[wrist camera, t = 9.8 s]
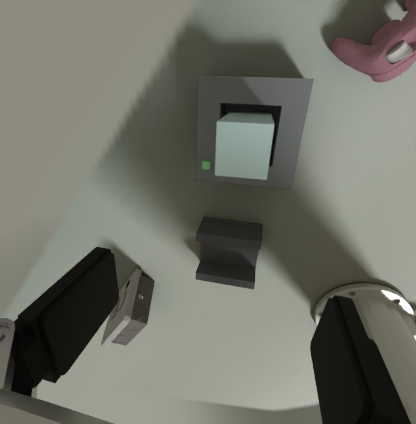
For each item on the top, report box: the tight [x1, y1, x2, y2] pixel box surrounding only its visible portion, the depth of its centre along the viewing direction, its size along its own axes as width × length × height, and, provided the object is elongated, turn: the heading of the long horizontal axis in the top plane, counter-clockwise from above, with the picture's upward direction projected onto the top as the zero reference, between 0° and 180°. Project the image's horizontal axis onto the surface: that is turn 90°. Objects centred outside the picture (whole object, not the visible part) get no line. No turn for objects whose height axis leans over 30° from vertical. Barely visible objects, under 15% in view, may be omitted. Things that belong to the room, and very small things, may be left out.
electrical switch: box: [101, 269, 155, 347], centre depth 39 cm, size 9×5×9 cm, turn 144°
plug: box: [215, 110, 275, 180], centre depth 22 cm, size 4×4×10 cm
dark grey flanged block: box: [196, 217, 262, 289], centre depth 33 cm, size 8×8×4 cm
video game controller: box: [330, 0, 416, 82], centre depth 19 cm, size 10×5×7 cm, turn 144°
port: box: [196, 75, 313, 190], centre depth 25 cm, size 10×10×5 cm
